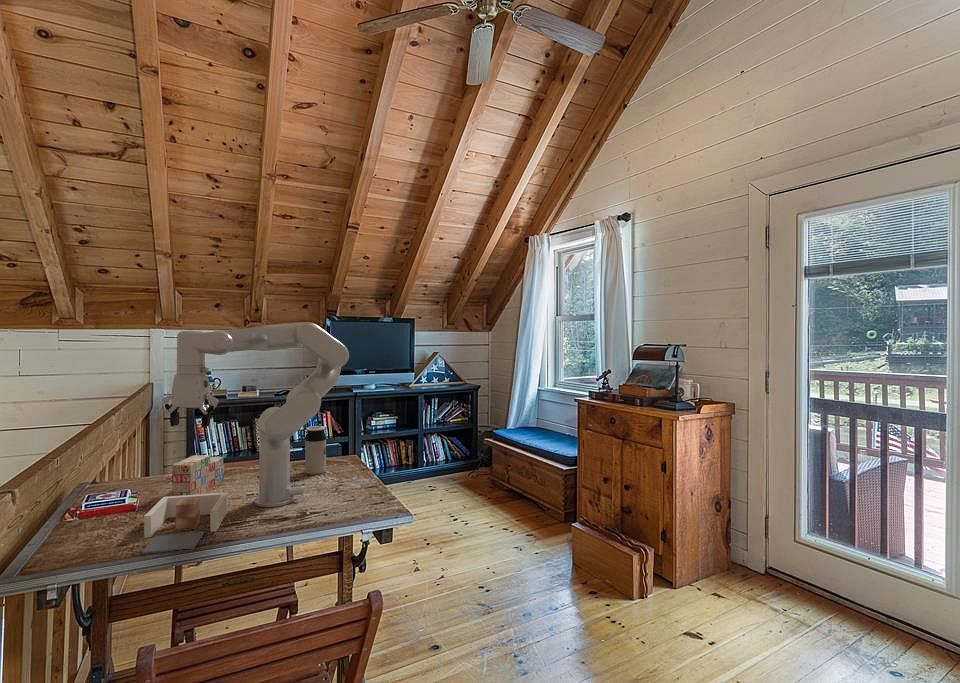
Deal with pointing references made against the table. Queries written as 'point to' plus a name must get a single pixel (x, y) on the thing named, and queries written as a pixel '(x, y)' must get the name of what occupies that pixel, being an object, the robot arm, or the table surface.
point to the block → (187, 513)
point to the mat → (173, 542)
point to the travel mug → (315, 450)
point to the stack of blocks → (196, 474)
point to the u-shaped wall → (167, 508)
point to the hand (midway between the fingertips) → (190, 426)
